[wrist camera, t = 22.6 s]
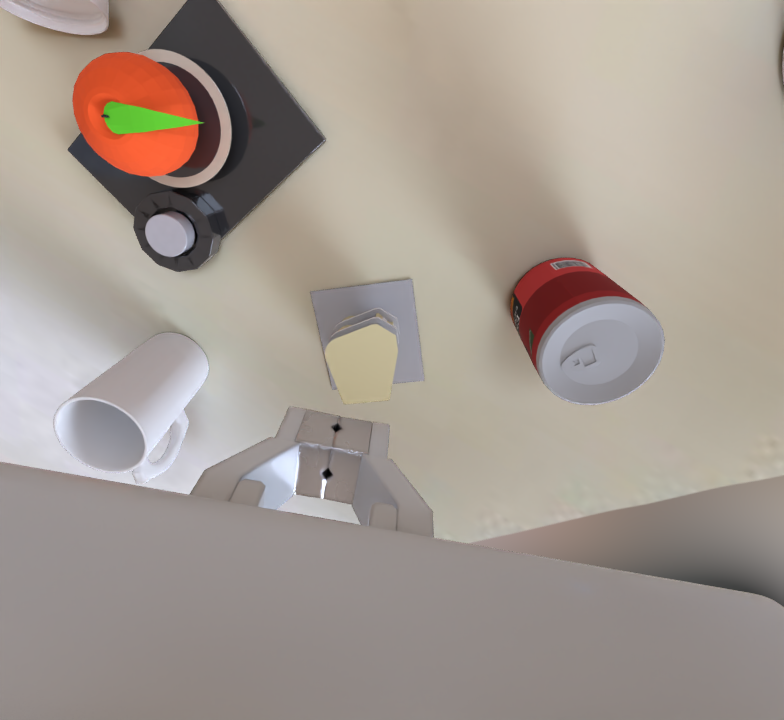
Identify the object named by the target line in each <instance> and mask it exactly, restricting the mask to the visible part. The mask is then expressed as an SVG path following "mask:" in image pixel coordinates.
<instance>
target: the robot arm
mask: <svg viewBox="0 0 784 720" xmlns="http://www.w3.org/2000/svg"><path fill="white" fill-rule="evenodd" d="M782 74H783V83H784V49H783V60H782ZM389 431H390V425H389V424H384V423H377V422H373V423H372V422H369V421H363V420H357V419H351V418H345V417H340V416H337V415H332V414H327V413H323V412H318V411H313V410H307V409H303V408H298V407H292V406H290V407H289V408H288V410H287V412H286V414H285V417H284V419H283V421H282V423H281V426H280V428H279V430H278V432H277V434H276V437H275V438H273V437H269V438H267V439H265V440H263V441H261V442H259V443H257V444H255V445H253V446H252V447H250V448H248V449H246V450H244V451H242V452H240V453H238V454H236V455H234V456H232V457H230V458H228V459H226V460H224V461H222V462H220V463H218V464H216V465H214V466H212V467H210V468H208V469H206V470H204V472H203V474H202V475H201V477H200V478H199V480H198V482H197V483H196V485H195V486H194V488H193V490H192V491H191V493H190V494H189V495H188V494H182V493H176V492H171V491H165V490H159V489H153V488H148V487H142V486H136V485H131V484H125V483H119V482H114V481H108V480H102V479H96V478H91V477H85V476H79V475H74V474H68V473H62V472H57V471H51V470H45V469H39V468H34V467H28V466H22V465H17V464H11V463H5V462H0V720H784V607H783V606H781V605H780V604H778V603H777V602H775V601H774V600H772V599H769V598H767V597H764V596H761V595H757V594H752V593H747V592H741V591H736V590H730V589H724V588H718V587H712V586H707V585H701V584H695V583H689V582H683V581H677V580H672V579H666V578H660V577H654V576H649V575H643V574H637V573H632V572H625V571H620V570H615V569H609V568H603V567H597V566H592V565H586V564H580V563H574V562H569V561H564V560H558V559H552V558H547V557H541V556H535V555H530V554H523V553H518V552H513V551H506V550H501V549H496V548H490V547H484V546H478V545H473V544H467V543H461V542H456V541H450V540H444V539H438V538H434V529H433V511H432V510H431V508H430V507H429V506H428V505H427V503H426V502H425V501H424V500H423V498H422V497H421V496H420V494H419V493H418V492H417V491H416V489H415V488H414V487H413V486H412V484H411V483H410V482H409V480H408V479H407V478H406V477H405V475H404V474H403V473H402V472H401V470H400V469H399V468H398V467H397V465H396V464H395V463H394V461H393V460H392V459H387V456H388V443H389ZM293 494H296V495H303V496H309V497H316V498H323V499H327V500H332V501H337V502H342V503H347V504H352V507H353V509H354V511H355V513H356V515H357V517H358V520H359V522H360V524H361V525H359V524H353V523H347V522H341V521H336V520H330V519H324V518H319V517H313V516H307V515H302V514H296V513H290V512H284V511H279V510H276V509H278V508H279V507H280V506H281V505H282V504H284V503H285V502H286V501H287V500H288V499H290V498H291V497H292V496H293Z"/></svg>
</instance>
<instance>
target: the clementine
mask: <svg viewBox="0 0 784 720" xmlns="http://www.w3.org/2000/svg"><path fill="white" fill-rule="evenodd" d="M73 108H74V115H75V118H76V121H77V124H78V127H79V129H80V131H81V133H82V134H83V136H84V138H85V140H86V141H87V143H88V144H89V145H90V146H91V147H92V149H93V150H94V151H95V152H96V153H97V154H98V155H99V156H100V157H102V158H103V159H104V160H106V161H107V162H108V163H110V164H111V165H113V166H114V167H116V168H118V169H120V170H123V171H125V172H127V173H129V174H134V175H139V176H147V177H152V176H163V175H165V174H168V173H170V172H173V171H175V170H177V169H179V168H180V167H181V166H182V165H183V164H185V163H186V162H187V161H188V160H189V158H190V157H191V155H192V153H193V152H194V150H195V147H196V143H197V139H198V124H201V123H203V122H199V121H198V118H197V113H196V109H195V106H194V104H193V102H192V99H191V97H190V95H189V93H188V91H187V90H186V88H185V87H184V86H183V84H182V83H181V82H180V80H179V79H178V78H177V77H176V76H175V75H174V74H173V73H172V72H170V71H169V70H168V69H167V68H166V67H164V66H163V65H161V64H159V63H157V62H155V61H153V60H151V59H150V58H148V57H146V56H144V55H139V54H135V53H130V52H118V53H108V54H104V55H102V56H100V57H98V58H96V59H94V60H92V61H91V62H90V63H89V64H88V65H87V66H86V67H85V68H84V69H83V70H82V72H81V73H80V74H79V76H78V78H77V81H76V83H75V85H74V92H73Z"/></svg>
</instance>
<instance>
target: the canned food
mask: <svg viewBox="0 0 784 720" xmlns="http://www.w3.org/2000/svg"><path fill="white" fill-rule="evenodd" d="M510 310H511V317H512V320H513V323H514V325H515V327H516V329H517V331H518V334H519V336H520V338H521V340H522V342H523V344H524V346H525V348H526V350H527V352H528V354H529V356H530V358H531V360H532V363H533V365H534V367H535V369H536V370H537V372H538V374H539V376H540V378H541V379H542V381H543V383H544V384H545V385H546V386H547V388H548V389H549V390H550V391H551V392H552V393H553V394H554V395H556V396H558V397H559V398H561V399H563V400H565V401H568V402H571V403H575V404H580V405H597V404H604V403H608V402H611V401H615V400H618V399H620V398H622V397H624V396H626V395H628V394H630V393H632V392H633V391H635V390H636V389H638V388H639V387H640V386H641V385H642V384H644V383H645V382H646V381H647V380H648V379H649V377H650V376H651V375H652V374H653V373H654V371H655V370H656V368H657V366H658V364H659V363H660V361H661V358H662V355H663V351H664V342H665V340H664V333H663V329H662V327H661V325H660V322H659V321H658V320H657V318H656V317H655V316H654V315H653V313H652V312H651V311H650V310H649V309H648V308H647V307H645V306H644V305H643V304H642V303H641V302H640V301H638V300H637V299H636V298H634V297H633V296H632V295H631V294H629V293H628V292H627V291H625V290H624V289H623V288H621V287H620V286H619V285H618V284H616V283H615V282H614V281H612V280H611V279H610V278H608V277H607V276H606V275H605V274H603V273H602V272H601V271H599V270H598V269H597V268H595V267H594V266H593V265H591V264H590V263H588V262H586V261H583V260H581V259H576V258H557V259H552V260H548V261H545V262H543V263H540V264H539V265H537V266H535V267H533V268H532V269H531V270H530V271H528V272H527V273H526V274H525V275H524V276H523V277H522V279H521V280H520V281H519V283H518V284H517V286H516V288H515V290H514V293H513V296H512V299H511V306H510Z"/></svg>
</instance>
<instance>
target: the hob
mask: <svg viewBox="0 0 784 720" xmlns="http://www.w3.org/2000/svg"><path fill="white" fill-rule="evenodd" d="M150 49H163V50H168V51H172V52H175V53H178V54H181V55H183V56H185V57H187V58H189V59H190V60H192V61H193V62H195V63H196V64H197V65H199V66H200V67H201V68H202V69H203V70H204V71H205V72H206V73H207V74H208V75H209V76H210V77H211V78H212V80H213V81H214V82H215V84H216V85H217V87H218V88H219V90H220V92H221V94H222V96H223V98H224V100H225V102H226V105H227V108H228V111H229V115H230V120H231V128H232V140H231V147H230V151H229V154H228V157H227V159H226V162H225V163H224V165H223V167H222V168H221V169H220V171H219V172H218V173H217V174H216V175H215V176H214V177H213V178H212V179H210V180H208V181H207V182H205V183H203V184H200V185H197V186H193V187H186V188H180V187H172V186H168V185H165V184H161V183H159V182H157V181H155V180H153V179H151V178H150V177H147V176H139V175H134V174H129V173H127V172H125V171H123V170H120V169H118V168H116V167H114V166H113V165H111V164H110V163H108V162H107V161H106V160H104V159H103V158H102V157H100V156H99V155H98V154H97V153H96V152H95V151H94V150H93V149H92V147H91V146H90V145H89V144H88V143H87V141H86V140H85V138H84V136H83V134H82V133H80V135H79V136H78V137H77V138H76V139H75V141H74V142H73V143H72V144H71V146H70V147H69V148H68V151H69V152H70V153H71V154H72V155H73V156H74V157H75V158H76V159H77V160H78V161H79V162H80V163H81V164H82V165H83V166H84V167H85V168H86V169H87V170H88V171H89V172H90V173H91V174H92V175H93V176H94V177H95V178H96V179H97V180H98V181H99V182H100V183H101V184H102V185H103V186H104V187H105V188H106V189H107V190H108V191H109V192H110V193H111V194H112V195H113V196H114V197H115V198H116V199H117V200H118V201H119V202H120V203H121V204H122V205H123V206H124V207H125V208H126V209H127V210H128V211H129V212H130V213H131V214H132V215H133V216H134V217H135V218H134V226H133V228H134V231H135V234H136V236H137V239H138V241H139V244H140V246H141V248H142V250H143V251H144V252H145V253H146V254H147V255H148V256H149V257H150V258H151V259H153V260H154V261H155V262H156V263H157V264H158V265H160V266H163V267H166V268H169V269H171V270H174V271H177V272H181V271H187V270H194V269H198V268H199V267H201V266H202V265H204V264H205V263H206V262H208V261H209V260H210V259H211V258H212V257H213V256H214V255H215V254H216V253H217V252H218V249H219V244H220V240H222V239H223V238H224V237H225V236H226V235H227V234H228V233H229V232H230V231H231V230H232V229H233V228H234V227H235V226H236V225H237V224H238V223H239V222H240V221H242V220H243V219H244V218H245V217H246V216H247V215H248V214H249V213H250V212H251V211H252V210H253V209H254V208H255V207H256V206H257V205H258V204H259V203H261V202H262V201H263V200H264V199H265V198H266V197H267V196H268V195H269V194H270V193H271V192H272V191H273V190H274V189H275V188H276V187H277V186H278V185H279V184H281V183H282V182H283V181H284V180H285V179H286V178H287V177H288V176H289V175H290V174H291V173H292V172H293V171H294V170H295V169H296V168H297V167H298V166H300V165H301V164H302V163H303V162H304V161H305V160H306V159H307V158H308V157H309V156H310V155H311V154H312V153H313V152H314V151H315V150H316V149H317V148H318V147H320V146H321V145H322V144H323V143H324V142H325V141H326V138H325V137H324V136H323V134H322V133H321V132H320V130H319V129H318V128H317V127H316V125H315V124H314V123H313V121H312V120H311V119H310V118H309V116H308V115H307V114H306V112H305V111H304V110H303V109H302V107H301V106H300V105H299V103H298V102H297V101H296V100H295V98H294V97H293V96H292V94H291V93H290V92H289V91H288V89H287V88H286V87H285V86H284V84H283V83H282V82H281V80H280V79H279V78H278V77H277V75H276V74H275V73H274V71H273V70H272V69H271V68H270V66H269V65H268V64H267V62H266V61H265V60H264V59H263V57H262V56H261V55H260V53H259V52H258V51H257V50H256V48H255V47H254V46H253V44H252V43H251V42H250V41H249V39H248V38H247V37H246V35H245V34H244V33H243V32H242V30H241V29H240V28H239V27H238V25H237V24H236V23H235V21H234V20H233V19H232V18H231V16H230V15H229V14H228V12H227V11H226V10H225V9H224V7H223V6H222V5H221V3H220V2H219V1H218V0H187V2H186V3H185V4H184V5H183V7H182V8H181V9H180V10H179V12H178V13H177V14H176V15H175V17H174V18H173V19H172V20H171V22H170V23H169V24H168V25H167V26H166V28H165V29H164V30H163V31H162V33H161V34H160V35H159V36H158V38H157V39H156V40H155V41H154V43H153V44H152V45H151V46H150V48H149V49H148V50H150ZM167 211H174V212H177V213H180V214H182V215H183V216H185V217H186V218H187V219H188V220H189V221H190V223H191V224H192V226H193V228H194V231H195V241H194V244H193V246H192V247H191V248H190V249H189V250H187V251H186V252H184V253H182V254H180V255H178V256H175V257H168V256H164V255H161V254H159V253H158V252H156V251H155V250H154V249H153V248H152V247H151V246H150V244H149V243H148V241H147V238H146V235H145V227H146V224H147V222H148V220H149V219H150V218H151V217H153V216H155V215H157V214H160V213H163V212H167Z"/></svg>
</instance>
